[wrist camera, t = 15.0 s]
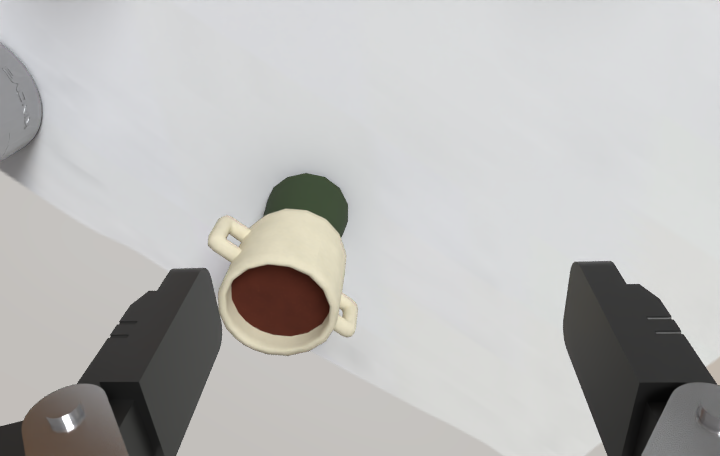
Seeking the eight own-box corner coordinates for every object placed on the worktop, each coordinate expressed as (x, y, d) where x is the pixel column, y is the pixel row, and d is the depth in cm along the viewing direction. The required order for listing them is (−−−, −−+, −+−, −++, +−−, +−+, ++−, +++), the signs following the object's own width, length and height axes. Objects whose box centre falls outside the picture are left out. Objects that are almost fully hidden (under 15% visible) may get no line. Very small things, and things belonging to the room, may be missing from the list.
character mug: (225, 196, 43) (164, 297, 32) (277, 129, 40) (230, 214, 29) (336, 274, 46) (315, 390, 35) (392, 216, 43) (389, 323, 32)
